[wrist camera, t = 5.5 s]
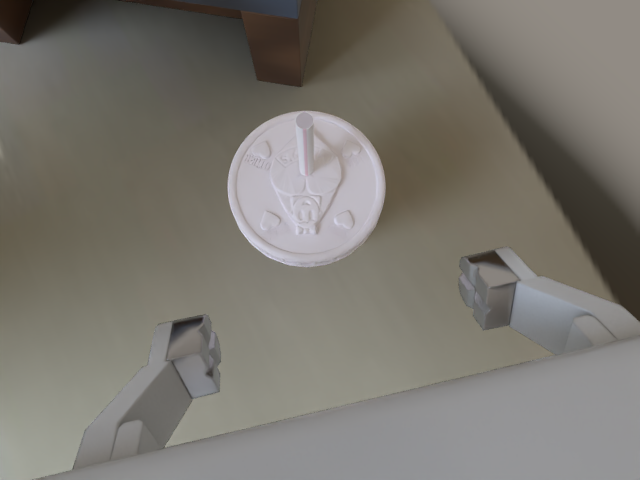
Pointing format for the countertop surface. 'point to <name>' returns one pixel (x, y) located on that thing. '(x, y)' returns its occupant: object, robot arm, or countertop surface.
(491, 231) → the countertop surface
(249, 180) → the smoothie
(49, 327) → the countertop surface
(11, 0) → the wooden step stool
